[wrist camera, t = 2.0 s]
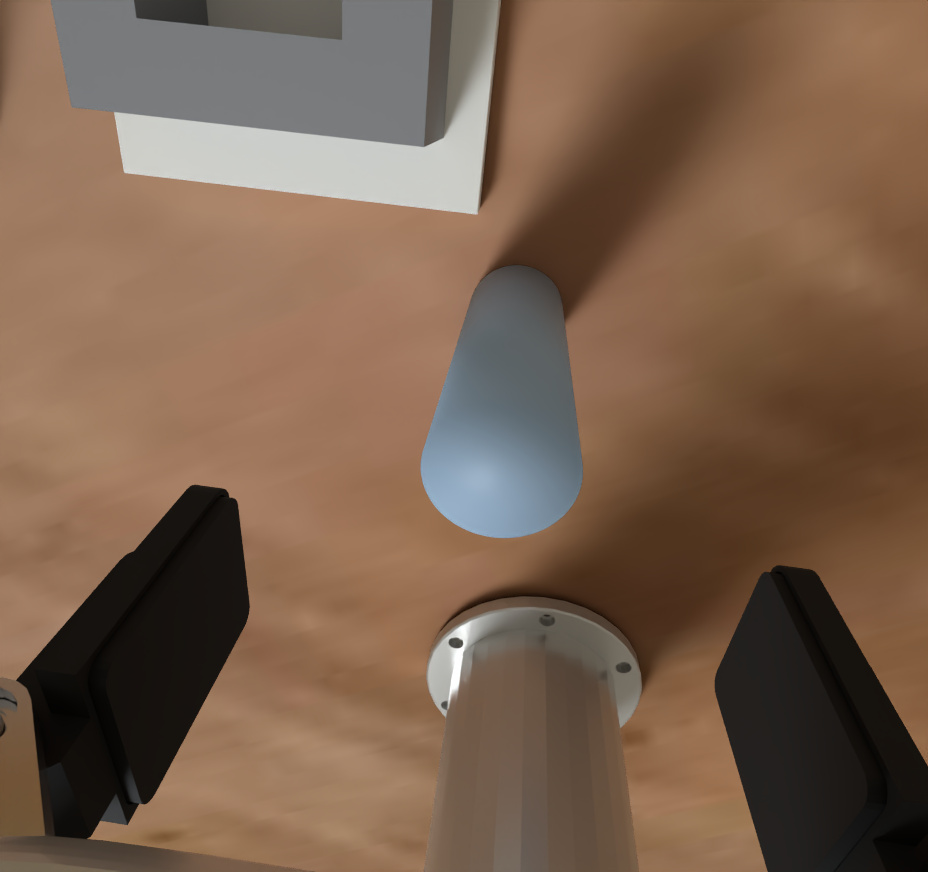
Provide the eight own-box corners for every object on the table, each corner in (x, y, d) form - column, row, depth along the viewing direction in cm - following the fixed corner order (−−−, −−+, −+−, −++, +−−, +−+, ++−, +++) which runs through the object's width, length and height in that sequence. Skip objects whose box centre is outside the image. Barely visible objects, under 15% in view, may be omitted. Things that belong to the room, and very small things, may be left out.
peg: (554, 360, 27) (567, 547, 16) (465, 349, 28) (416, 526, 16) (570, 271, 25) (598, 412, 14) (474, 259, 26) (425, 390, 14)
